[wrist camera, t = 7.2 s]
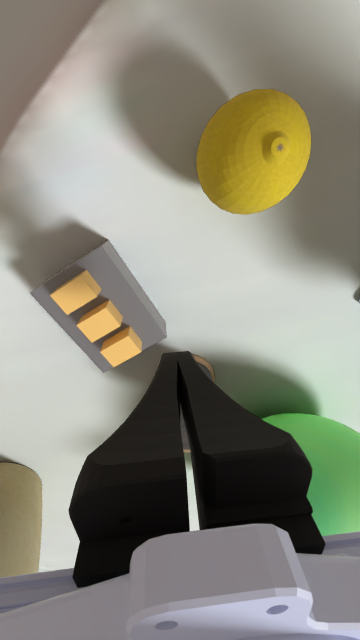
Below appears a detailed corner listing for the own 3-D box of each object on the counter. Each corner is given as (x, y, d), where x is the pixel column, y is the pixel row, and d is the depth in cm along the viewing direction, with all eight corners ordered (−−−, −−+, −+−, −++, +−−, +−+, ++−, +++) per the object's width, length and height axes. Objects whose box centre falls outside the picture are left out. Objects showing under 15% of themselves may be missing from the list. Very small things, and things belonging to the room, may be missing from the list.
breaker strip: (46, 280, 20) (19, 300, 16) (109, 239, 19) (97, 250, 15) (109, 352, 23) (99, 384, 19) (165, 320, 23) (167, 347, 18)
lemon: (187, 210, 19) (208, 218, 11) (190, 114, 16) (219, 48, 9) (261, 211, 19) (326, 220, 12) (275, 119, 17) (366, 60, 9)
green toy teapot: (374, 402, 29) (556, 574, 16) (298, 492, 36) (383, 667, 22) (232, 367, 25) (319, 556, 12) (176, 475, 32) (191, 676, 18)
